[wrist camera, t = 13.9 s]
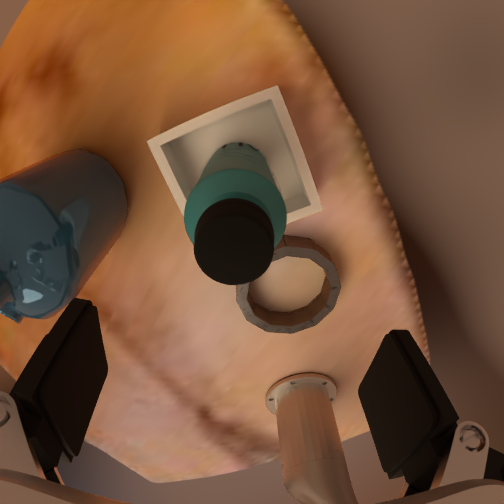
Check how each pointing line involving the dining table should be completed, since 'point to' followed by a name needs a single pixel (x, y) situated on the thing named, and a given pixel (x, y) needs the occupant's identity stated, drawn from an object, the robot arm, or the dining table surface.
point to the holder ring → (302, 316)
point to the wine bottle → (56, 230)
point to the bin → (241, 129)
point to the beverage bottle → (235, 215)
